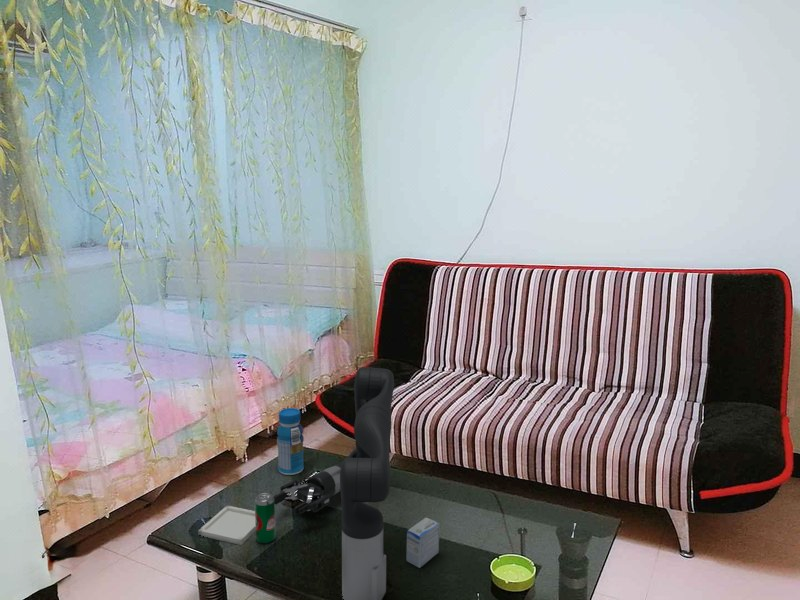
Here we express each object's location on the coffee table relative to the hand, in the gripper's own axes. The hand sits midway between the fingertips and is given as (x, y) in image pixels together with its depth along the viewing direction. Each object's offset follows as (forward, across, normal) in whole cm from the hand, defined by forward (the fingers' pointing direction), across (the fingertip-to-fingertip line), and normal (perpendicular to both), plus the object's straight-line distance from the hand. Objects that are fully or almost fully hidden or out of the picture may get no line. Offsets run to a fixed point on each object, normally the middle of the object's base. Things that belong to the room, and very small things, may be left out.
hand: (284, 506), depth 160 cm
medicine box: (-13, +36, +7) cm, 39 cm away
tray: (+8, -11, +6) cm, 15 cm away
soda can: (+6, 0, +7) cm, 9 cm away
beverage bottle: (-23, -24, +7) cm, 34 cm away
